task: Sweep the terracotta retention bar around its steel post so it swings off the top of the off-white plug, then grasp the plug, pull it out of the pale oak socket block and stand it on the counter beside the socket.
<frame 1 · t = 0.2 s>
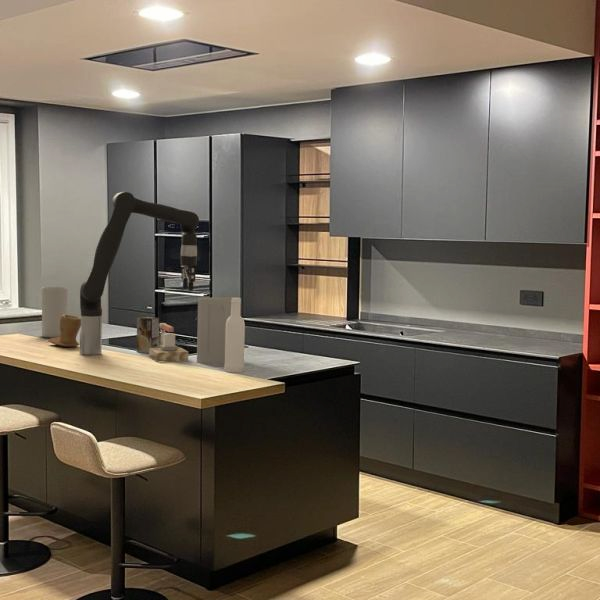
hand: (187, 289, 400), 29 cm above the countertop, fingers open, 8 cm apart
socket block: (168, 358, 377), on the countertop
retention bar: (166, 327, 379), point 13 cm above the countertop, hinge at 0.0°
cylinder vase: (54, 336, 440), on the countertop
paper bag: (223, 364, 369), on the countertop
bottle: (234, 371, 350), on the countertop
plug: (168, 359, 377), resting in socket block
clip post: (162, 355, 387), on the countertop
coffee box: (148, 352, 395), on the countertop
brown boot-shaped piece: (66, 346, 407), on the countertop
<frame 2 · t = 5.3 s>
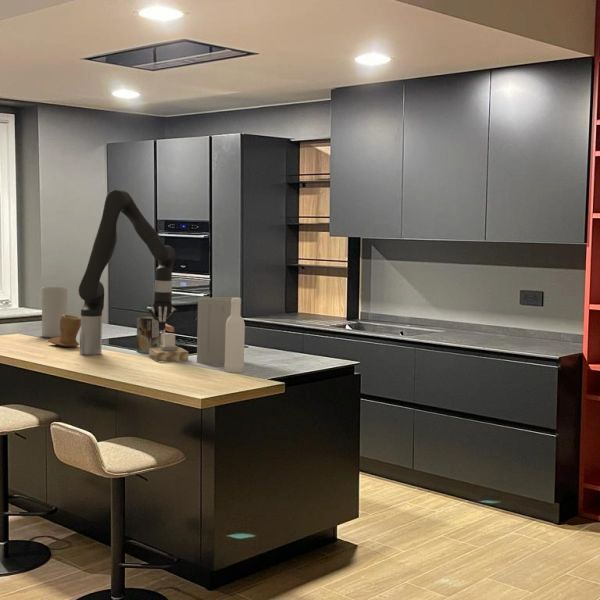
hand: (162, 330, 376), 13 cm above the countertop, fingers closed
retention bar: (166, 327, 379), point 13 cm above the countertop, hinge at 0.7°, touching gripper
everything else where it was.
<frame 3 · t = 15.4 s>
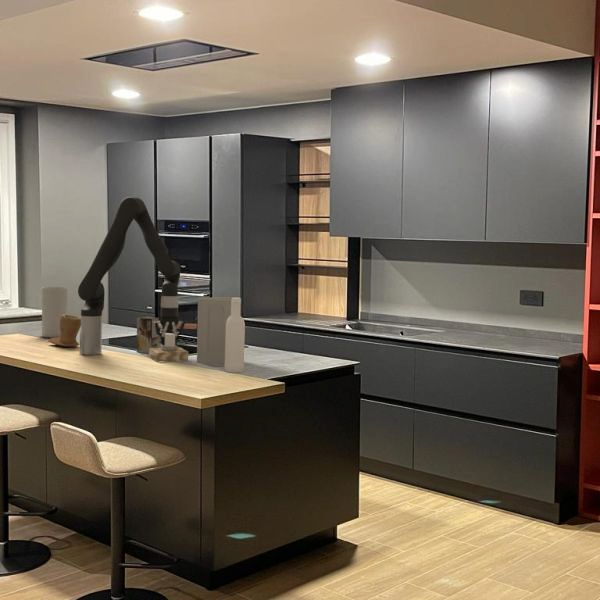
hand: (168, 344, 376), 6 cm above the countertop, fingers closed on plug, 4 cm apart
retention bar: (177, 326, 386), point 13 cm above the countertop, hinge at 70.4°
plug: (168, 359, 377), resting in socket block, touching gripper
everything else where it was.
when the fingers open (8 cm above the countertop, at t = 21.5 s): plug drops 1 cm, on the countertop.
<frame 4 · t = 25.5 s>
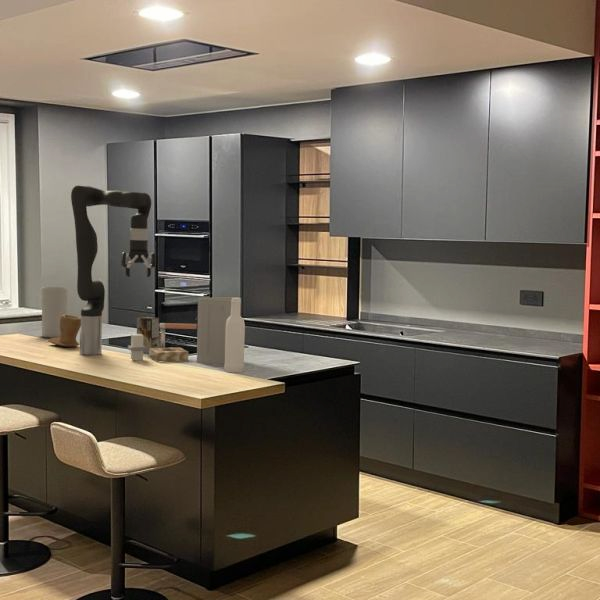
hand: (138, 276, 368), 36 cm above the countertop, fingers open, 8 cm apart
plug: (136, 360, 371), on the countertop
everything else where it was.
at the end: retention bar at +70° (first picture: +0°); plug inside the target area (0.0 cm from its centre), on the countertop; plug tilted 0° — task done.
